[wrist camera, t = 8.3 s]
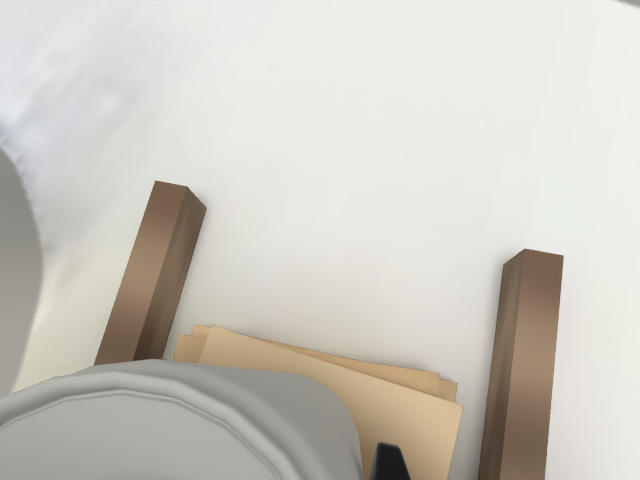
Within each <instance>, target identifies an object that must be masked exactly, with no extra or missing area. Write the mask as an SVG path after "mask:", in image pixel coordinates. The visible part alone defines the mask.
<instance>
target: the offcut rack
mask: <svg viewBox="0 0 640 480" xmlns="http://www.w3.org/2000/svg"><path fill="white" fill-rule="evenodd" d="M205 211H206V207H205V206H204V205H203V204H202V203H201V202H200V201H199V199H198V198H197V197H196V196H195V195H194V194H193V193H192V192H191V190H190V189H189V188H188V187H187V186H182V185H176V184H171V183H166V182H160V181H155V183H154V186H153V189H152V192H151V195H150V198H149V201H148V204H147V207H146V210H145V213H144V216H143V219H142V222H141V225H140V228H139V231H138V234H137V237H136V240H135V243H134V246H133V249H132V252H131V255H130V258H129V261H128V264H127V267H126V270H125V273H124V276H123V279H122V282H121V285H120V288H119V291H118V294H117V297H116V300H115V303H114V306H113V309H112V312H111V315H110V318H109V321H108V324H107V327H106V330H105V333H104V336H103V339H102V342H101V345H100V348H99V351H98V354H97V357H96V360H95V363H94V365H93V366H95V365H104V364H113V363H122V362H131V361H139V360H148V359H161V358H162V355H163V352H164V348H165V345H166V342H167V338H168V335H169V332H170V328H171V325H172V322H173V318H174V315H175V312H176V308H177V305H178V302H179V298H180V295H181V291H182V288H183V285H184V281H185V278H186V275H187V271H188V268H189V265H190V261H191V258H192V255H193V251H194V248H195V245H196V241H197V238H198V235H199V231H200V228H201V225H202V221H203V218H204V215H205ZM563 258H564V256H562V255H557V254H551V253H546V252H541V251H535V250H530V249H524V250H522V251H521V252H520V253H518V254H517V255H516V256H514V257H513V258H512V259H510V260H509V261H508V262H506V263H505V264H504V266H503V274H502V282H501V291H500V299H499V308H498V316H497V324H496V333H495V341H494V349H493V358H492V366H491V374H490V383H489V391H488V399H487V408H486V416H485V425H484V433H483V441H482V450H481V458H480V466H479V475H478V480H544V479H545V467H546V456H547V444H548V433H549V421H550V409H551V398H552V386H553V374H554V363H555V351H556V339H557V328H558V316H559V304H560V293H561V281H562V269H563Z"/></svg>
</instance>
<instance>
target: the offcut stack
mask: <svg viewBox="0 0 640 480" xmlns="http://www.w3.org/2000/svg"><path fill="white" fill-rule="evenodd" d="M173 361H180V362H189V363H198V364H208V365H217V366H226V367H236V368H245V369H254V370H263V371H273V372H282V373H290V374H296V375H302V376H306V377H309V378H311V379H313V380H315V381H317V382H319V383H321V384H323V385H325V386H326V387H327V388H328V389H329V390H331V391H332V392H333V393H334V394H335V395H337V396H338V397H339V398H340V400H341V401H342V403H343V404H344V406H345V407H346V408H347V410H348V411H349V413H350V414H351V416H352V419H353V422H354V424H355V427H356V429H357V432H358V435H359V443H360V451H361V460H362V472H363V480H369V476H370V470H371V466H372V462H373V458H374V454H375V450H376V446H377V443H378V442H380V441H383V442H387V443H391V444H395V445H398V446H399V447H400V449H401V451H402V454H403V457H404V460H405V463H406V466H407V468H408V471H409V474H410V477H411V480H447V478H448V473H449V469H450V464H451V460H452V455H453V451H454V446H455V442H456V437H457V433H458V428H459V424H460V419H461V415H462V410H463V406H462V405H459V404H456V403H455V398H456V391H457V383H456V382H451V381H447V380H442V379H439V373H436V372H429V371H422V370H416V369H409V368H402V367H395V366H389V365H382V364H375V363H369V362H362V361H357V360H352V359H348V358H343V357H339V356H335V355H330V354H326V353H321V352H317V351H312V350H308V349H303V348H299V347H294V346H290V345H285V344H281V343H276V342H272V341H267V340H263V339H258V338H254V337H249V336H245V335H241V334H238V333H235V332H232V331H229V330H226V329H223V328H220V327H217V326H213V325H212V327H211V328H209V327H205V326H200V325H196V324H195V326H194V330H193V333H192V336H188V335H181V334H179V336H178V341H177V345H176V350H175V354H174V359H173Z"/></svg>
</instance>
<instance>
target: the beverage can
mask: <svg viewBox="0 0 640 480" xmlns="http://www.w3.org/2000/svg"><path fill="white" fill-rule="evenodd" d="M0 480H363V472H362V460H361V451H360V443H359V435H358V432H357V429H356V427H355V424H354V422H353V419H352V416H351V414H350V413H349V411H348V410H347V408H346V407H345V406H344V404H343V403H342V401H341V400H340V398H339V397H338V396H337V395H335V394H334V393H333V392H332V391H331V390H329V389H328V388H327V387H326V386H325V385H323V384H321V383H319V382H317V381H315V380H313V379H311V378H309V377H306V376H302V375H296V374H290V373H282V372H273V371H263V370H254V369H245V368H236V367H226V366H217V365H208V364H198V363H189V362H180V361H171V360H161V359H148V360H139V361H131V362H122V363H113V364H104V365H95V366H92V367H89V368H87V369H84V370H82V371H79V372H77V373H74V374H72V375H68V376H59V377H54V378H51V379H48V380H46V381H43V382H41V383H38V384H36V385H33V386H31V387H28V388H26V389H23V390H21V391H18V392H16V393H13V394H11V395H8V396H5V397H3V398H1V399H0Z"/></svg>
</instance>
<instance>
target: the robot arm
mask: <svg viewBox="0 0 640 480" xmlns="http://www.w3.org/2000/svg"><path fill="white" fill-rule="evenodd" d="M369 480H411V477H410V474H409V471H408V468H407V466H406V463H405V460H404V457H403V454H402V451H401V449H400V447H399V446H398V445H395V444H391V443H387V442H383V441H380V442H378V443H377V446H376V450H375V454H374V458H373V462H372V466H371V470H370V476H369Z"/></svg>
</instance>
